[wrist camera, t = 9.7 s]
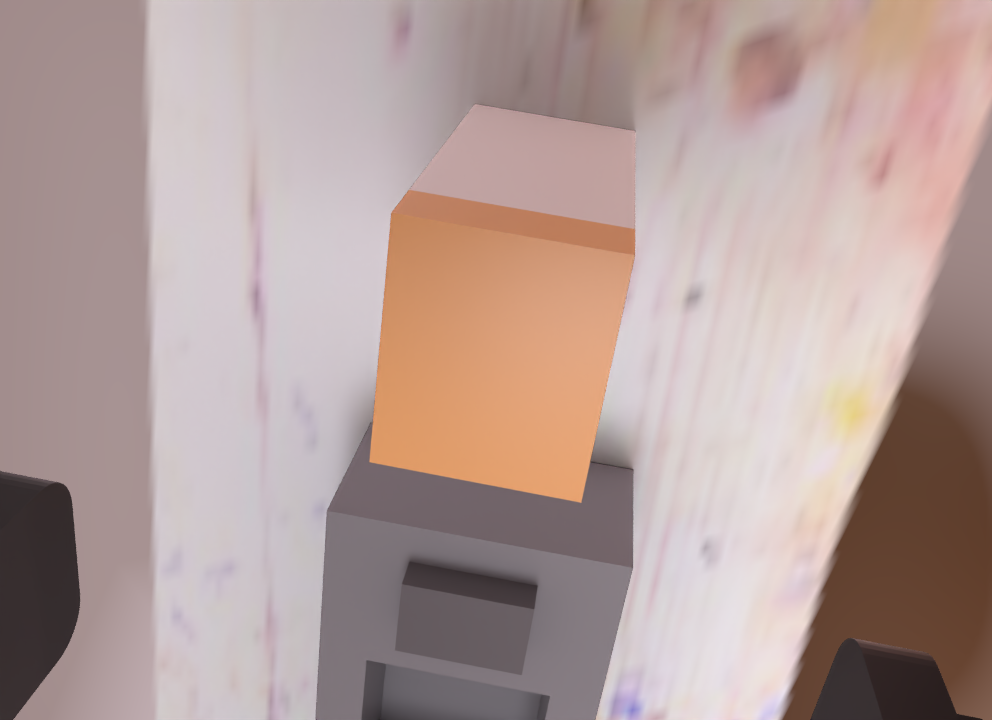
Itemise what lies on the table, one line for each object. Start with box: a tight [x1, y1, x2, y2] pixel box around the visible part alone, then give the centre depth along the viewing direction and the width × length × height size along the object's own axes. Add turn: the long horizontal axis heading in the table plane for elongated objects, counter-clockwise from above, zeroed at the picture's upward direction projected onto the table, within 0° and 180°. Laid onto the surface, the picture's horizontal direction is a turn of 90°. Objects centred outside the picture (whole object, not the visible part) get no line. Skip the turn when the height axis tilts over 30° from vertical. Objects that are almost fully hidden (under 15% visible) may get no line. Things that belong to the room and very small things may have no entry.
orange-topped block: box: [369, 104, 635, 503], centre depth 18 cm, size 4×4×8 cm
